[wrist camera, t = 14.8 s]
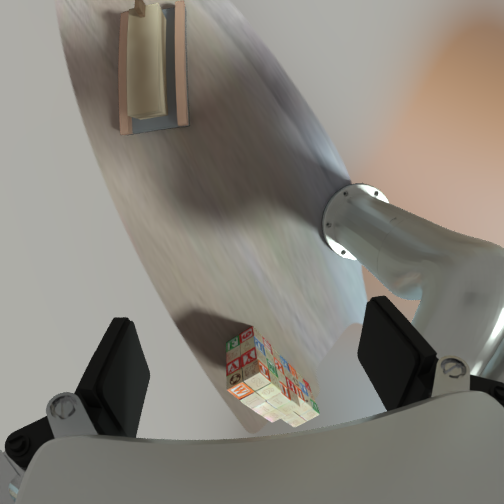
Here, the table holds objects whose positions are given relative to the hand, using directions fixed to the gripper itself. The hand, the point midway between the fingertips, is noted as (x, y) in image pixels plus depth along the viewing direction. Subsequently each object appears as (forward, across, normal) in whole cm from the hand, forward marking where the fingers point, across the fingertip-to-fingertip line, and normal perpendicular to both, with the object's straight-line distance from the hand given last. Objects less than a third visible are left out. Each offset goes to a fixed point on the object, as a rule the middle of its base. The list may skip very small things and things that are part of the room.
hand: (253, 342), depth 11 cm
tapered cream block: (+32, +10, -21) cm, 39 cm away
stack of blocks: (+34, -5, +33) cm, 48 cm away
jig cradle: (+33, +10, -21) cm, 40 cm away
